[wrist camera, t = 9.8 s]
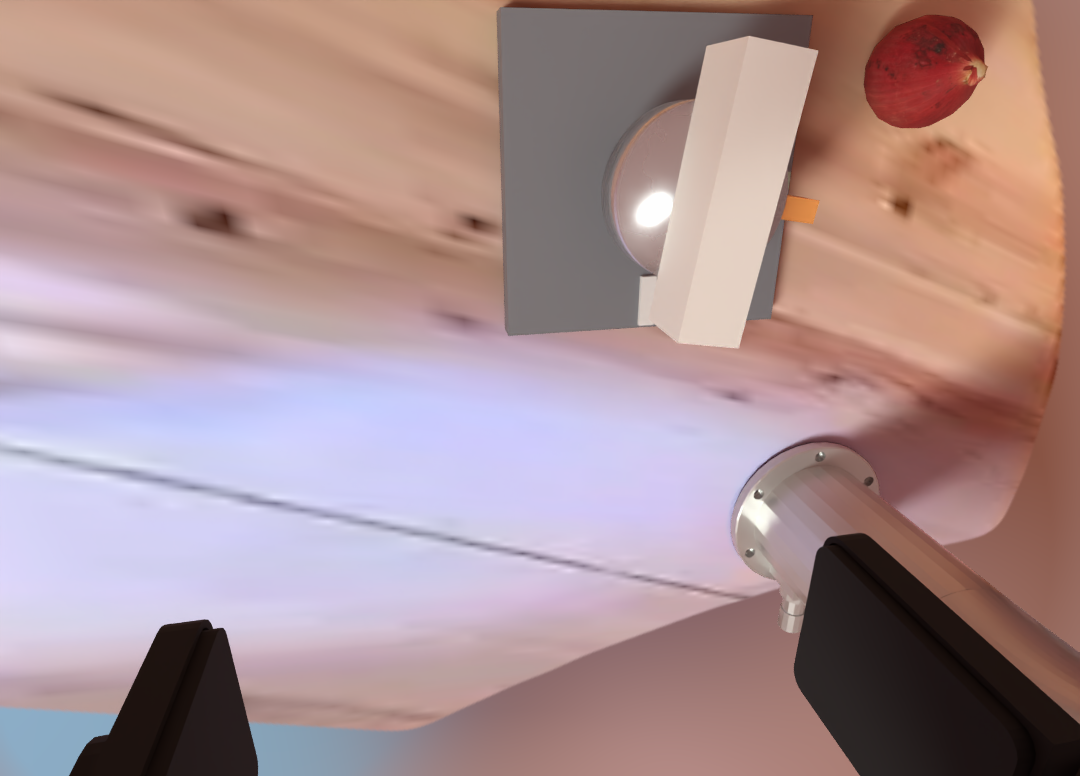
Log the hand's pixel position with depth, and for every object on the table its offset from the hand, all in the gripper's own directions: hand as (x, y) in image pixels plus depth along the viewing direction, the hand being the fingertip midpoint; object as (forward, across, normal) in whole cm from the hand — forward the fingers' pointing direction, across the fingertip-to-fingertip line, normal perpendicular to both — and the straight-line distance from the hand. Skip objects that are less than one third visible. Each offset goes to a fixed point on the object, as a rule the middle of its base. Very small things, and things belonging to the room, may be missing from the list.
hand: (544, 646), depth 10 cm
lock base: (+32, -13, -4) cm, 35 cm away
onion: (+32, -28, -10) cm, 44 cm away
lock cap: (+26, -14, -4) cm, 30 cm away
